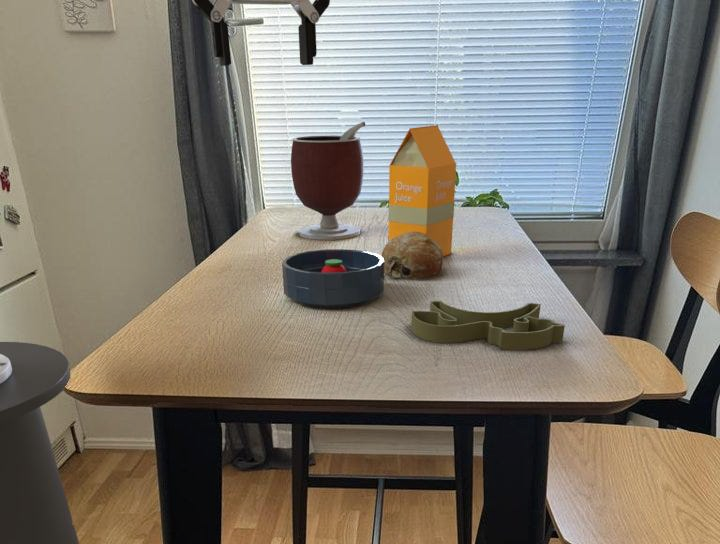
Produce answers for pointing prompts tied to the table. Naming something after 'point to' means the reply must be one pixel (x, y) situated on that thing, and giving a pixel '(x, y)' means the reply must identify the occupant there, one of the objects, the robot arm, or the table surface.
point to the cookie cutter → (487, 326)
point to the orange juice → (423, 187)
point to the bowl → (333, 278)
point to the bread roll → (412, 256)
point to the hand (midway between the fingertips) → (266, 65)
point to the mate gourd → (328, 179)
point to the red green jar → (333, 266)
